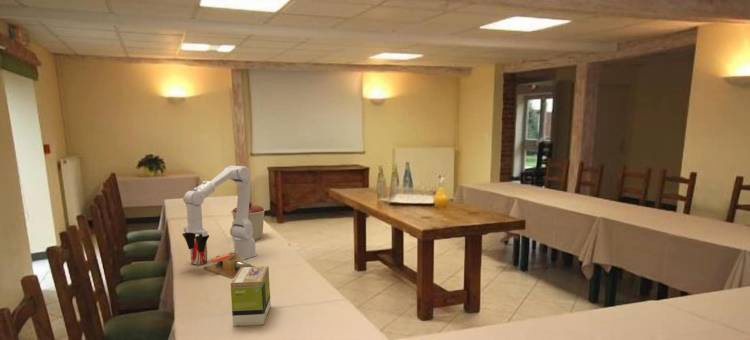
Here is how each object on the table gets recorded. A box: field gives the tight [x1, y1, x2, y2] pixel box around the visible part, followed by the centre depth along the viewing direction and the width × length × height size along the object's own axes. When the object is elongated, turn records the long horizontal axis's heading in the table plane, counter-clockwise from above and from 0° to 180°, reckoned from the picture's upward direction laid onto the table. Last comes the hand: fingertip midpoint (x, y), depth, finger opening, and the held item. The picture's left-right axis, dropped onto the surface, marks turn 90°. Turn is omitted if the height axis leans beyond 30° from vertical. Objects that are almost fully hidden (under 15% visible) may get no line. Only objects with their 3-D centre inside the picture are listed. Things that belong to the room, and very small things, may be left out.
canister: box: [230, 201, 266, 242], centre depth 240 cm, size 18×18×21 cm
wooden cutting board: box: [202, 255, 256, 279], centre depth 193 cm, size 21×14×5 cm, turn 55°
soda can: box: [189, 239, 208, 266], centre depth 201 cm, size 7×7×12 cm
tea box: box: [230, 265, 272, 327], centre depth 146 cm, size 15×10×15 cm
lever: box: [210, 252, 238, 264], centre depth 190 cm, size 12×3×2 cm, turn 145°
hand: (196, 250), depth 188 cm, fingers open, 7 cm apart
